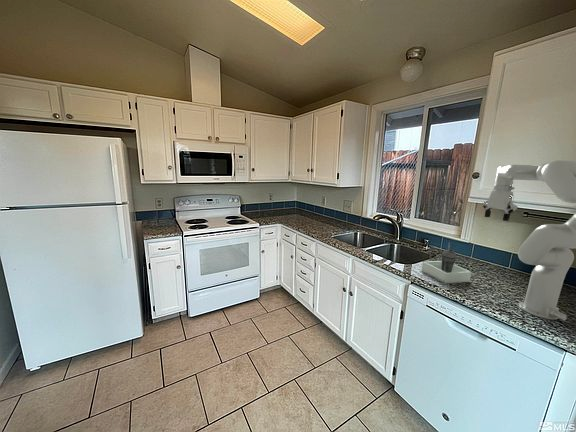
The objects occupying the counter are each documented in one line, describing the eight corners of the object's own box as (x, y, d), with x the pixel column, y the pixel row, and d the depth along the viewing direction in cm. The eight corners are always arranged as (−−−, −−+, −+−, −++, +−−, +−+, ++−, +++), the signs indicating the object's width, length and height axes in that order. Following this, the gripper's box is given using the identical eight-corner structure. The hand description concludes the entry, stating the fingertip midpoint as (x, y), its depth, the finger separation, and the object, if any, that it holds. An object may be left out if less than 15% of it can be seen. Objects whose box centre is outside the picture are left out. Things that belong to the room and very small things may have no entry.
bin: (469, 281, 133) (471, 271, 132) (445, 283, 129) (446, 273, 128) (443, 269, 149) (445, 260, 148) (421, 270, 146) (423, 261, 144)
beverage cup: (455, 278, 135) (461, 245, 131) (441, 276, 136) (447, 243, 132) (449, 272, 142) (455, 241, 138) (436, 271, 143) (441, 240, 140)
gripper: (526, 190, 121) (518, 222, 124) (491, 187, 137) (485, 215, 141) (515, 189, 119) (508, 222, 122) (481, 187, 136) (475, 215, 139)
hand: (495, 218), depth 132 cm, fingers open, 9 cm apart
